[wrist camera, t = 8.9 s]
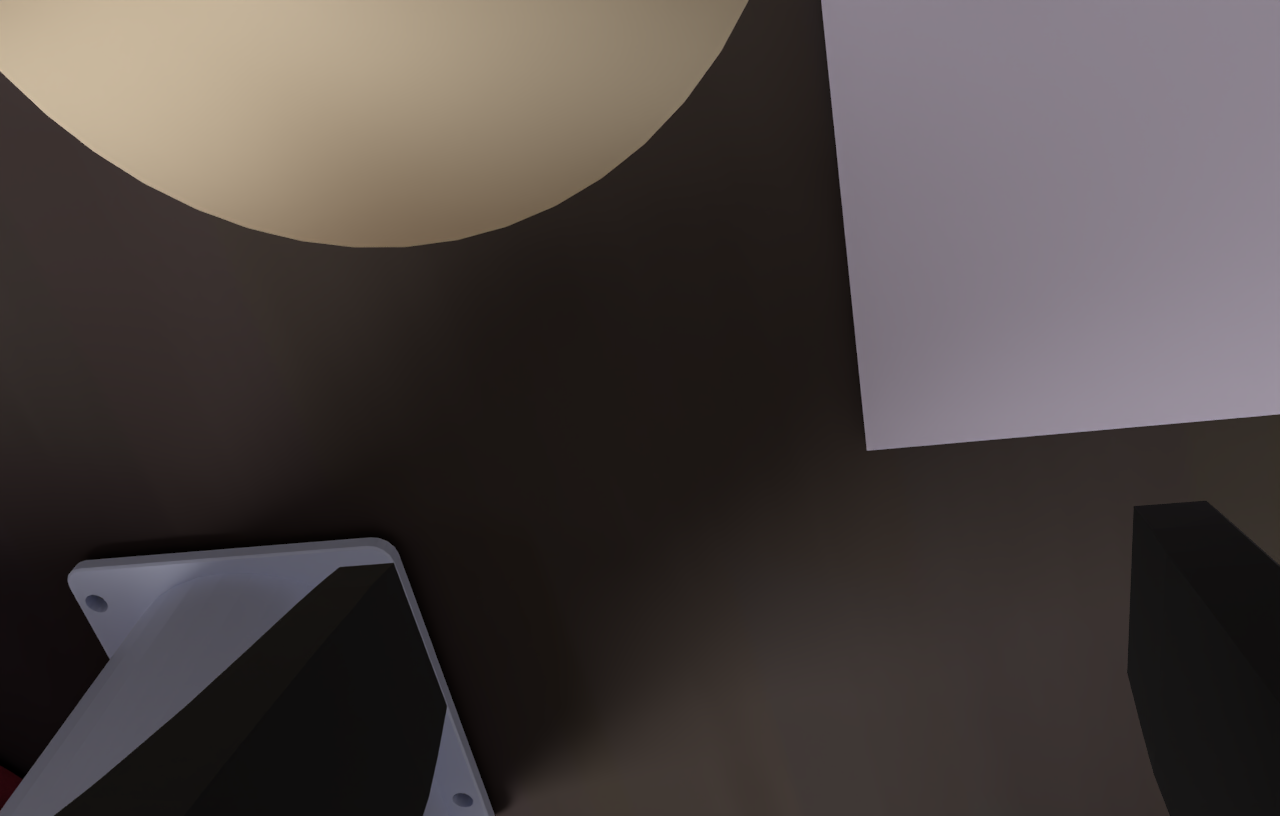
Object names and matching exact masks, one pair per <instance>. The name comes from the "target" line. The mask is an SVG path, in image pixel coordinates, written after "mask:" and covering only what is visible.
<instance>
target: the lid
mask: <svg viewBox="0 0 1280 816" xmlns="http://www.w3.org/2000/svg"><path fill="white" fill-rule="evenodd" d="M748 1H749V0H0V71H1V72H2V73H3V74H4V75H5V76H6V77H7V78H8V79H9V80H10V81H11V82H12V83H13V84H14V85H15V86H16V87H18V88H19V89H20V90H21V91H22V92H23V93H24V94H25V95H26V96H27V97H28V98H29V99H30V100H31V101H32V102H33V103H35V104H36V105H37V106H38V107H39V108H40V109H41V110H42V111H43V112H44V113H45V114H46V115H47V116H49V117H50V118H51V119H53V120H54V121H55V122H57V123H58V124H59V125H60V126H62V127H63V128H64V129H66V130H67V131H68V132H69V133H71V134H72V135H73V136H75V137H76V138H77V139H78V140H80V141H81V142H82V143H84V144H85V145H86V146H87V147H89V148H90V149H91V150H93V151H94V152H95V153H97V154H98V155H100V156H102V157H103V158H105V159H106V160H108V161H110V162H111V163H113V164H114V165H116V166H118V167H119V168H121V169H122V170H124V171H125V172H127V173H129V174H130V175H132V176H133V177H135V178H137V179H138V180H140V181H141V182H143V183H145V184H146V185H149V186H151V187H153V188H155V189H157V190H159V191H161V192H163V193H165V194H167V195H169V196H171V197H173V198H175V199H177V200H179V201H181V202H183V203H185V204H187V205H189V206H191V207H193V208H195V209H197V210H200V211H203V212H206V213H208V214H211V215H214V216H217V217H219V218H222V219H225V220H228V221H230V222H233V223H236V224H238V225H241V226H244V227H247V228H250V229H254V230H258V231H262V232H266V233H270V234H275V235H279V236H283V237H287V238H291V239H295V240H299V241H306V242H314V243H323V244H331V245H339V246H347V247H410V246H417V245H425V244H432V243H439V242H447V241H454V240H459V239H463V238H467V237H470V236H474V235H478V234H481V233H485V232H489V231H493V230H496V229H500V228H504V227H507V226H509V225H512V224H514V223H517V222H519V221H521V220H524V219H526V218H528V217H531V216H533V215H535V214H538V213H540V212H542V211H545V210H547V209H550V208H552V207H554V206H556V205H558V204H560V203H561V202H563V201H565V200H566V199H568V198H570V197H571V196H573V195H575V194H576V193H578V192H580V191H581V190H583V189H585V188H586V187H588V186H590V185H591V184H593V183H595V182H596V181H598V180H600V179H601V178H603V177H604V176H605V175H606V174H608V173H609V172H610V171H611V170H613V169H614V168H615V167H616V166H618V165H619V164H620V163H621V162H623V161H624V160H625V159H626V158H628V157H629V156H630V155H631V154H633V153H634V152H635V151H636V150H638V149H639V148H640V147H641V146H643V145H644V144H645V143H646V142H647V141H648V140H649V139H650V138H651V137H652V136H653V135H654V134H655V132H656V131H657V130H658V129H659V128H660V127H661V126H662V125H663V124H664V123H665V122H666V121H667V120H668V119H669V118H670V117H671V116H672V115H673V114H674V112H675V111H676V110H677V109H678V108H679V107H680V106H681V105H682V104H683V103H684V102H685V101H686V99H687V98H688V97H689V95H690V94H691V92H692V91H693V90H694V88H695V87H696V85H697V84H698V83H699V81H700V80H701V79H702V77H703V76H704V74H705V73H706V72H707V70H708V69H709V68H710V66H711V65H712V63H713V62H714V61H715V59H716V58H717V56H718V55H719V54H720V52H721V50H722V49H723V47H724V45H725V43H726V41H727V39H728V38H729V36H730V34H731V32H732V30H733V28H734V27H735V25H736V23H737V21H738V19H739V17H740V15H741V14H742V12H743V10H744V8H745V6H746V4H747V3H748Z"/></svg>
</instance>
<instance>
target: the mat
mask: <svg viewBox="0 0 1280 816" xmlns="http://www.w3.org/2000/svg"><path fill="white" fill-rule="evenodd" d="M821 4H822V14H823V24H824V33H825V43H826V53H827V63H828V73H829V83H830V93H831V102H832V112H833V122H834V132H835V142H836V152H837V162H838V171H839V181H840V191H841V201H842V211H843V221H844V230H845V240H846V250H847V260H848V270H849V280H850V290H851V299H852V309H853V319H854V329H855V339H856V349H857V359H858V368H859V378H860V388H861V398H862V408H863V418H864V427H865V437H866V447H867V451H870V450H881V449H893V448H904V447H915V446H927V445H938V444H949V443H960V442H972V441H983V440H994V439H1006V438H1017V437H1028V436H1039V435H1051V434H1062V433H1073V432H1085V431H1096V430H1107V429H1118V428H1130V427H1141V426H1152V425H1164V424H1175V423H1186V422H1197V421H1209V420H1220V419H1231V418H1243V417H1254V416H1265V415H1276V414H1280V0H821Z"/></svg>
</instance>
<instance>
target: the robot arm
mask: <svg viewBox="0 0 1280 816" xmlns="http://www.w3.org/2000/svg"><path fill="white" fill-rule="evenodd" d="M67 581H68V584H69V587H70V589H71V591H72V593H73V594H74V596H75V598H76V600H77V602H78V603H79V605H80V607H81V609H82V611H83V612H84V614H85V616H86V618H87V619H88V621H89V623H90V625H91V627H92V628H93V630H94V632H95V634H96V635H97V637H98V639H99V641H100V643H101V644H102V646H103V648H104V650H105V652H106V653H107V655H108V657H109V659H110V660H109V661H108V663H107V664H106V665H105V667H104V668H103V670H102V671H101V672H100V674H99V675H98V677H97V678H96V679H95V681H94V682H93V683H92V685H91V686H90V688H89V689H88V690H87V692H86V693H85V694H84V696H83V697H82V699H81V700H80V701H79V703H78V704H77V706H76V707H75V708H74V710H73V711H72V712H71V714H70V715H69V717H68V718H67V719H66V721H65V722H64V723H63V725H62V726H61V728H60V729H59V730H58V732H57V733H56V735H55V736H54V737H53V739H52V740H51V741H50V743H49V744H48V746H47V747H46V748H45V750H44V751H43V752H42V754H41V755H40V757H39V758H38V759H37V761H36V762H35V764H34V765H33V766H32V768H31V769H30V770H29V772H28V773H27V775H26V776H25V777H24V779H23V780H22V781H21V783H20V784H19V786H18V787H17V788H16V790H15V791H14V793H13V794H12V795H11V797H10V798H9V799H8V801H7V802H6V804H5V805H4V806H3V808H2V809H1V810H0V816H495V814H494V811H493V809H492V806H491V803H490V801H489V798H488V795H487V792H486V790H485V787H484V784H483V782H482V779H481V776H480V773H479V771H478V768H477V765H476V762H475V760H474V757H473V754H472V752H471V749H470V746H469V743H468V741H467V738H466V735H465V733H464V730H463V727H462V724H461V722H460V719H459V716H458V714H457V711H456V708H455V705H454V703H453V700H452V697H451V694H450V692H449V689H448V686H447V684H446V681H445V678H444V675H443V673H442V670H441V667H440V665H439V662H438V659H437V656H436V654H435V651H434V648H433V645H432V643H431V640H430V637H429V635H428V632H427V629H426V626H425V624H424V621H423V618H422V616H421V613H420V610H419V607H418V605H417V602H416V599H415V596H414V594H413V591H412V588H411V586H410V583H409V580H408V577H407V575H406V572H405V569H404V567H403V564H402V561H401V558H400V556H399V553H398V552H397V550H396V548H395V547H394V546H393V545H392V544H390V543H389V542H388V541H386V540H383V539H381V538H373V537H368V538H355V539H343V540H330V541H318V542H306V543H293V544H281V545H269V546H256V547H244V548H231V549H219V550H207V551H194V552H182V553H170V554H157V555H145V556H132V557H120V558H108V559H95V560H85V561H82V562H79V563H78V564H77V565H76V566H75V567H74V569H73V570H72V571H71V572H70V573H69V574H68V579H67ZM98 596H99V597H101V598H103V599H104V600H103V599H101V598H99V597H98ZM1127 673H1128V677H1129V681H1130V685H1131V689H1132V693H1133V697H1134V701H1135V705H1136V709H1137V713H1138V716H1139V720H1140V724H1141V728H1142V732H1143V736H1144V739H1145V743H1146V747H1147V750H1148V754H1149V758H1150V762H1151V765H1152V769H1153V773H1154V775H1155V778H1156V781H1157V783H1158V786H1159V789H1160V791H1161V794H1162V796H1163V799H1164V801H1165V804H1166V807H1167V809H1168V812H1169V814H1170V816H1280V565H1279V564H1278V563H1276V562H1275V561H1274V560H1273V559H1272V558H1271V557H1270V556H1269V555H1267V554H1266V553H1265V552H1264V551H1263V550H1262V549H1261V548H1260V547H1258V546H1257V545H1256V544H1255V543H1254V542H1253V541H1252V540H1251V539H1249V538H1248V537H1247V536H1246V535H1245V534H1244V533H1243V532H1242V531H1241V530H1239V529H1238V528H1237V527H1236V526H1235V525H1234V524H1233V523H1232V522H1230V521H1229V520H1228V519H1227V518H1226V517H1225V516H1224V515H1222V514H1221V513H1220V512H1219V511H1218V510H1217V509H1215V508H1214V507H1213V506H1212V505H1211V504H1209V503H1208V502H1207V501H1198V502H1184V503H1171V504H1158V505H1145V506H1134V517H1133V542H1132V568H1131V593H1130V619H1129V644H1128V670H1127ZM463 793H464V794H463Z"/></svg>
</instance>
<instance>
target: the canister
mask: <svg viewBox="0 0 1280 816" xmlns="http://www.w3.org/2000/svg"><path fill="white" fill-rule="evenodd" d="M22 780H23V779H22V778H21V777H19V776H18V775H16V774H14V773H13V772H11V771H10V770H8V769H6V768H4V767H3V766H1V765H0V810H1V809H2V808H3V806H4V805H5V804H6V802H7V801H8V799H9V798H10V797H11V795H12V794H13V793H14V791H15V790H16V788H17V787H18V786H19V784H20V783H21V781H22Z"/></svg>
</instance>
